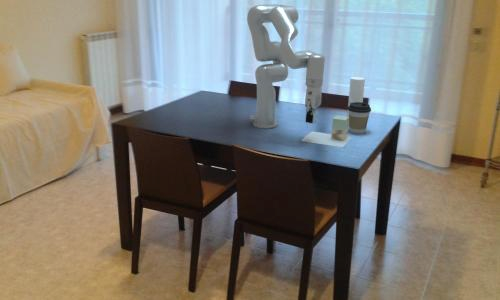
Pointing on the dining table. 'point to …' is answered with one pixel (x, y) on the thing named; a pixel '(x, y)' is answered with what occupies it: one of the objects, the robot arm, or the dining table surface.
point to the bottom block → (339, 134)
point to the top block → (340, 123)
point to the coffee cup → (358, 116)
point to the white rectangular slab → (324, 139)
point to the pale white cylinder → (314, 115)
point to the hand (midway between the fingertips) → (311, 120)
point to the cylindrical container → (356, 91)
